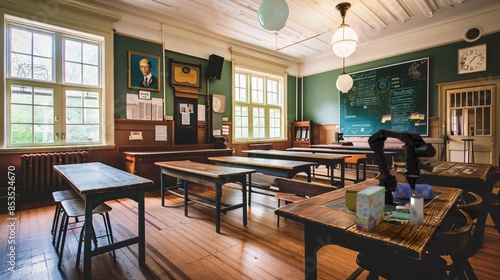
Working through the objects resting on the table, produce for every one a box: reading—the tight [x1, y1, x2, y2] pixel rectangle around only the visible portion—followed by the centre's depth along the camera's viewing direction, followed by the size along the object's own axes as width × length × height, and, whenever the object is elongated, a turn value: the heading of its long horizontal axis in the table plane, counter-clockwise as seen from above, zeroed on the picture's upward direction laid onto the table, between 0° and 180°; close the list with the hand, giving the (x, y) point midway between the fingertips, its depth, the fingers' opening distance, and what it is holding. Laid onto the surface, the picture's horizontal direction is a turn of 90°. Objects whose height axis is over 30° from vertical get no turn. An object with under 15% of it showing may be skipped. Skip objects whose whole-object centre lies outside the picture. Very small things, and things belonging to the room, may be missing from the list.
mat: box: [391, 211, 410, 221], centre depth 115 cm, size 8×8×1 cm
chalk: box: [395, 205, 409, 211], centre depth 126 cm, size 7×2×2 cm, turn 80°
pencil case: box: [392, 182, 435, 200], centre depth 148 cm, size 22×9×10 cm, turn 83°
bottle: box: [409, 194, 424, 226], centre depth 106 cm, size 5×5×12 cm
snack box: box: [355, 185, 385, 233], centre depth 104 cm, size 21×6×15 cm, turn 137°
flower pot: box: [343, 189, 361, 212], centre depth 126 cm, size 9×9×9 cm
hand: (413, 189), depth 121 cm, fingers open, 9 cm apart
